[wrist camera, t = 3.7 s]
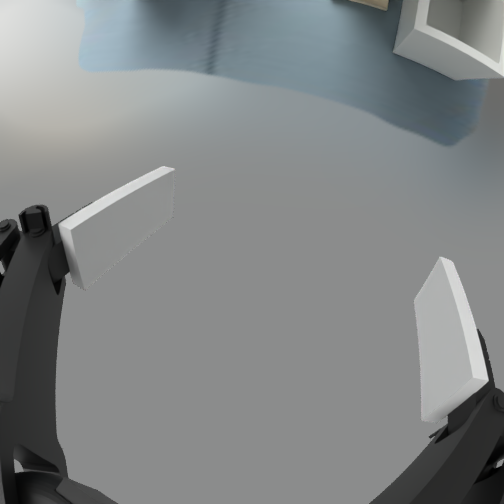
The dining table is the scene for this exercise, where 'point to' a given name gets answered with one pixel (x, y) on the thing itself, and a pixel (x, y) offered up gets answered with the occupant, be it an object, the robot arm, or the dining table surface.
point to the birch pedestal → (374, 3)
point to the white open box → (453, 37)
